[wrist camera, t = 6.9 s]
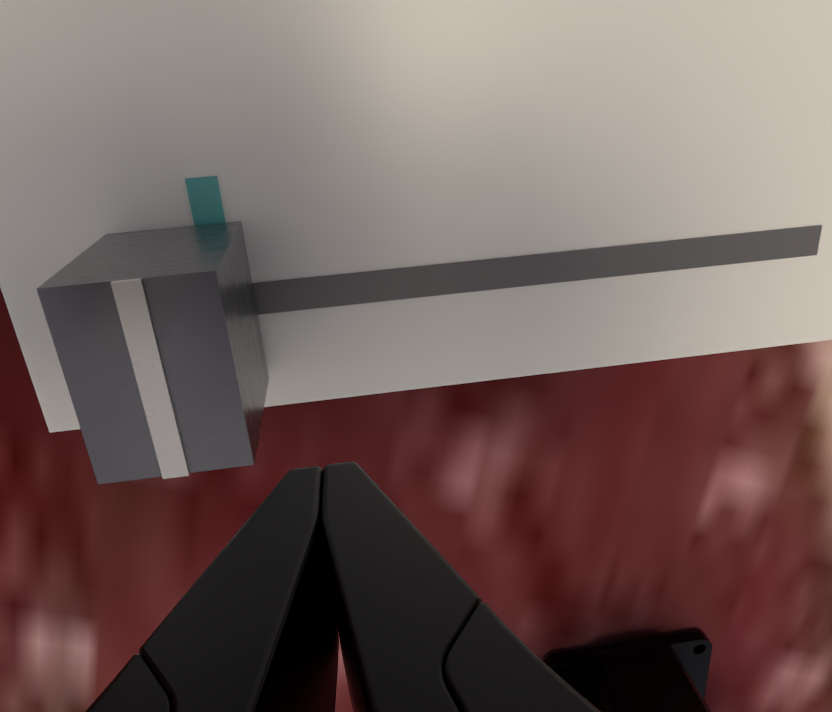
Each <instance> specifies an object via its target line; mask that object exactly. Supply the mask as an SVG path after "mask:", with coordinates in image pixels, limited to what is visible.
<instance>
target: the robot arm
mask: <svg viewBox="0 0 832 712" xmlns="http://www.w3.org/2000/svg"><path fill="white" fill-rule="evenodd" d="M338 631H339V636H338ZM339 637H340V644H341V650H342V656H343V662H344V667H345V672H346V677H347V683H348V688H349V693H350V698H351V703H352V708H353V712H711V711H710V709H709V708H708V706H707V704H706V703H705V701H704V695H705V689H706V682H707V676H708V670H709V663H710V657H711V650H712V644H711V642H710V641H709V639H708V638H707V636H706V635H705V634H704V633H703V632H690V633H683V634H677V635H671V636H664V637H658V638H652V639H645V640H639V641H632V642H626V643H620V644H613V645H607V646H601V647H594V648H588V649H582V650H575V651H569V652H563V653H557V654H553V655H551V656H550V657H548V658H547V659H546V661H545V663H544V662H543V661H542V660H541V659H540V658H538V657H537V656H536V655H535V654H534V653H533V652H532V651H531V650H530V649H529V648H528V647H527V646H526V645H525V644H524V643H523V642H522V641H521V640H520V639H519V638H518V637H517V636H516V635H515V634H514V633H513V632H512V631H511V630H510V629H509V628H508V627H507V626H506V625H505V624H504V622H503V621H502V620H501V619H500V618H499V617H498V616H497V615H496V614H495V613H494V611H493V610H492V609H491V608H490V607H489V606H488V605H487V604H486V603H484V602H482V599H481V598H480V597H479V596H478V594H477V593H476V592H475V591H474V590H473V589H472V588H471V587H470V586H469V585H468V584H467V582H466V581H465V580H464V579H463V578H462V577H461V576H460V575H459V574H458V573H457V572H456V570H455V569H454V568H453V567H452V566H451V565H450V564H449V563H448V562H447V561H446V560H445V559H444V557H443V556H442V555H441V554H440V553H439V552H438V551H437V550H436V549H435V548H434V547H433V545H432V544H431V543H430V542H429V541H428V540H427V539H426V538H425V537H424V536H423V535H422V533H421V532H420V531H419V530H418V529H417V528H416V527H415V526H414V525H413V524H412V523H411V522H410V520H409V519H408V518H407V517H406V516H405V515H404V514H403V513H402V512H401V511H400V510H399V508H398V507H397V506H396V505H395V504H394V503H393V502H392V501H391V500H390V499H389V498H388V496H387V495H386V494H385V493H384V492H383V491H382V490H381V489H380V488H379V487H378V486H377V484H376V483H375V482H374V481H373V480H372V479H371V478H370V477H369V476H368V475H367V474H366V473H365V471H364V470H363V469H362V468H361V467H360V466H359V465H358V464H357V463H355V462H345V463H337V464H330V465H327V466H326V467H325V468H324V470H323V469H322V468H321V467H319V466H314V467H306V468H298V469H292V470H290V471H289V472H288V473H287V474H286V475H285V476H284V477H283V479H282V480H281V481H280V482H279V483H278V485H277V486H276V487H275V488H274V489H273V490H272V492H271V493H270V494H269V495H268V496H267V498H266V499H265V500H264V501H263V502H262V504H261V505H260V506H259V507H258V508H257V510H256V511H255V512H254V513H253V514H252V515H251V517H250V518H249V519H248V520H247V521H246V523H245V524H244V525H243V526H242V527H241V529H240V530H239V531H238V532H237V533H236V535H235V536H234V537H233V538H232V539H231V540H230V542H229V543H228V544H227V545H226V546H225V548H224V549H223V550H222V551H221V552H220V554H219V555H218V556H217V557H216V558H215V560H214V561H213V562H212V563H211V564H210V566H209V567H208V568H207V569H206V570H205V571H204V573H203V574H202V575H201V576H200V577H199V579H198V580H197V581H196V582H195V583H194V585H193V586H192V587H191V588H190V589H189V591H188V592H187V593H186V594H185V595H184V596H183V598H182V599H181V600H180V601H179V602H178V604H177V605H176V606H175V607H174V608H173V610H172V611H171V612H170V613H169V614H168V616H167V617H166V618H165V619H164V620H163V621H162V623H161V624H160V625H159V626H158V627H157V629H156V630H155V631H154V632H153V633H152V635H151V636H150V637H149V638H148V639H147V641H146V642H145V643H144V644H143V645H142V646H141V648H140V649H139V654H135V655H134V656H133V657H132V658H131V659H130V660H129V662H128V663H127V664H126V665H125V666H124V667H123V669H122V670H121V671H120V672H119V673H118V675H117V676H116V677H115V678H114V679H113V681H112V682H111V683H110V684H109V685H108V686H107V687H106V689H105V690H104V691H103V692H102V693H101V694H100V695H99V696H98V698H97V699H96V700H95V701H94V702H93V703H92V704H91V706H90V707H89V708H88V709H87V710H86V711H85V712H335V700H336V685H337V670H338V649H339Z"/></svg>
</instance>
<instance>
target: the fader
mask: <svg viewBox="0 0 832 712" xmlns="http://www.w3.org/2000/svg"><path fill="white" fill-rule="evenodd" d="M37 292H38V295H39V298H40V302H41V305H42V308H43V311H44V314H45V317H46V321H47V324H48V327H49V330H50V333H51V336H52V340H53V343H54V346H55V349H56V352H57V355H58V359H59V362H60V365H61V368H62V371H63V374H64V378H65V381H66V384H67V387H68V390H69V394H70V397H71V400H72V403H73V406H74V409H75V413H76V416H77V419H78V422H79V425H80V428H81V432H82V435H83V438H84V441H85V444H86V447H87V451H88V454H89V457H90V460H91V463H92V466H93V470H94V473H95V476H96V479H97V482H98V484H106V483H114V482H121V481H129V480H137V479H145V478H153V477H161V476H162V478H163V479H167V478H175V477H183V476H189V474H190V473H193V472H201V471H209V470H216V469H224V468H232V467H240V466H248V465H254V463H255V457H256V451H257V445H258V439H259V433H260V428H261V422H262V416H263V410H264V404H265V398H266V392H267V387H268V381H269V376H268V370H267V365H266V359H265V353H264V348H263V342H262V336H261V330H260V325H259V319H258V313H257V308H256V302H255V296H254V291H253V285H252V279H251V274H250V268H249V262H248V257H247V251H246V245H245V240H244V234H243V228H242V222H241V221H239V222H228V223H218V224H207V225H196V226H186V227H175V228H165V229H154V230H143V231H133V232H122V233H112V234H105V235H104V236H103V237H101V238H100V239H99V240H98V241H96V242H95V243H94V244H93V245H91V246H90V247H89V248H88V249H86V250H85V251H84V252H82V253H81V254H80V255H79V256H77V257H76V258H75V259H74V260H72V261H71V262H70V263H69V264H67V265H66V266H65V267H63V268H62V269H61V270H60V271H58V272H57V273H56V274H55V275H53V276H52V277H51V278H49V279H48V280H47V281H46V282H44V283H43V284H42V285H41V286H39V287H38V288H37Z"/></svg>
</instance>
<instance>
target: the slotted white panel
mask: <svg viewBox="0 0 832 712" xmlns="http://www.w3.org/2000/svg"><path fill="white" fill-rule="evenodd" d="M239 221H241V222H242V228H243V234H244V240H245V245H246V251H247V257H248V262H249V268H250V274H251V279H252V285H253V291H254V296H255V302H256V308H257V313H258V319H259V325H260V330H261V336H262V342H263V348H264V353H265V359H266V365H267V370H268V376H269V381H268V387H267V392H266V398H265V404H264V407H270V406H278V405H286V404H295V403H303V402H312V401H320V400H328V399H337V398H345V397H354V396H362V395H371V394H379V393H387V392H396V391H404V390H413V389H421V388H429V387H438V386H446V385H455V384H463V383H471V382H480V381H488V380H497V379H505V378H513V377H522V376H530V375H539V374H547V373H556V372H564V371H572V370H581V369H589V368H598V367H606V366H614V365H623V364H631V363H640V362H648V361H656V360H665V359H673V358H682V357H690V356H698V355H707V354H715V353H724V352H732V351H740V350H749V349H757V348H766V347H774V346H783V345H791V344H799V343H808V342H816V341H825V340H832V0H0V288H1V291H2V294H3V297H4V300H5V302H6V305H7V308H8V311H9V314H10V317H11V320H12V323H13V326H14V329H15V332H16V335H17V338H18V341H19V344H20V347H21V350H22V353H23V356H24V359H25V362H26V365H27V368H28V370H29V373H30V376H31V379H32V382H33V385H34V388H35V391H36V394H37V397H38V400H39V403H40V406H41V409H42V412H43V415H44V418H45V421H46V424H47V427H48V430H49V433H51V432H59V431H68V430H76V429H81V428H80V425H79V422H78V419H77V416H76V413H75V409H74V406H73V403H72V400H71V397H70V394H69V390H68V387H67V384H66V381H65V378H64V374H63V371H62V368H61V365H60V362H59V359H58V355H57V352H56V349H55V346H54V343H53V340H52V336H51V333H50V330H49V327H48V324H47V321H46V317H45V314H44V311H43V308H42V305H41V302H40V298H39V295H38V292H37V288H38V287H39V286H41V285H42V284H43V283H44V282H46V281H47V280H48V279H49V278H51V277H52V276H53V275H55V274H56V273H57V272H58V271H60V270H61V269H62V268H63V267H65V266H66V265H67V264H69V263H70V262H71V261H72V260H74V259H75V258H76V257H77V256H79V255H80V254H81V253H82V252H84V251H85V250H86V249H88V248H89V247H90V246H91V245H93V244H94V243H95V242H96V241H98V240H99V239H100V238H101V237H103V236H104V235H105V234H112V233H122V232H133V231H143V230H154V229H165V228H175V227H186V226H196V225H207V224H218V223H228V222H239Z"/></svg>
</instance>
